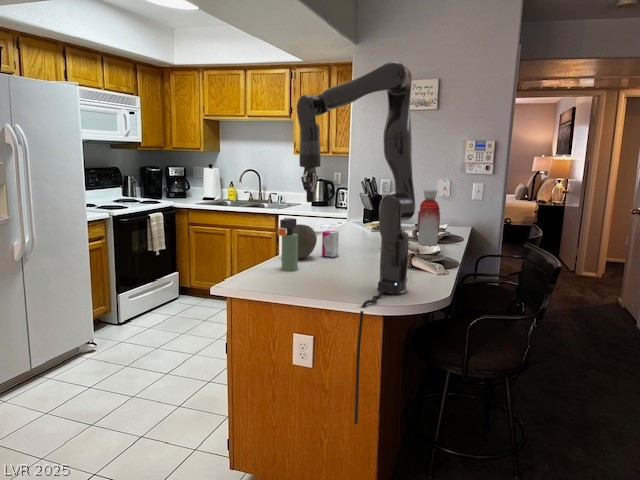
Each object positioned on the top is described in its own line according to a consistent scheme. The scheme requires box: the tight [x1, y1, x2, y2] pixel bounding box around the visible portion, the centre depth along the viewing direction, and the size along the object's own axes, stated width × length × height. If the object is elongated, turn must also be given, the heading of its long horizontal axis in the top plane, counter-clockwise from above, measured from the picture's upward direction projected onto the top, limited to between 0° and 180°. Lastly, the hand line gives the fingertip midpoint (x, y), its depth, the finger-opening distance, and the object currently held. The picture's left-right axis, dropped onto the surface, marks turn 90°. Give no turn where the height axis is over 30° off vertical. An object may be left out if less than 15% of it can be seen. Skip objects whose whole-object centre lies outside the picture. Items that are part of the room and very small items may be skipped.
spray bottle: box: [279, 217, 299, 272], centre depth 192 cm, size 8×6×20 cm
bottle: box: [416, 188, 441, 247], centre depth 230 cm, size 14×10×30 cm
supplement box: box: [321, 230, 340, 259], centre depth 218 cm, size 6×6×12 cm
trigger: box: [278, 228, 287, 237], centre depth 188 cm, size 1×3×3 cm, turn 53°
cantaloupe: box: [293, 223, 318, 260], centre depth 213 cm, size 14×14×15 cm
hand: (310, 202), depth 176 cm, fingers closed
